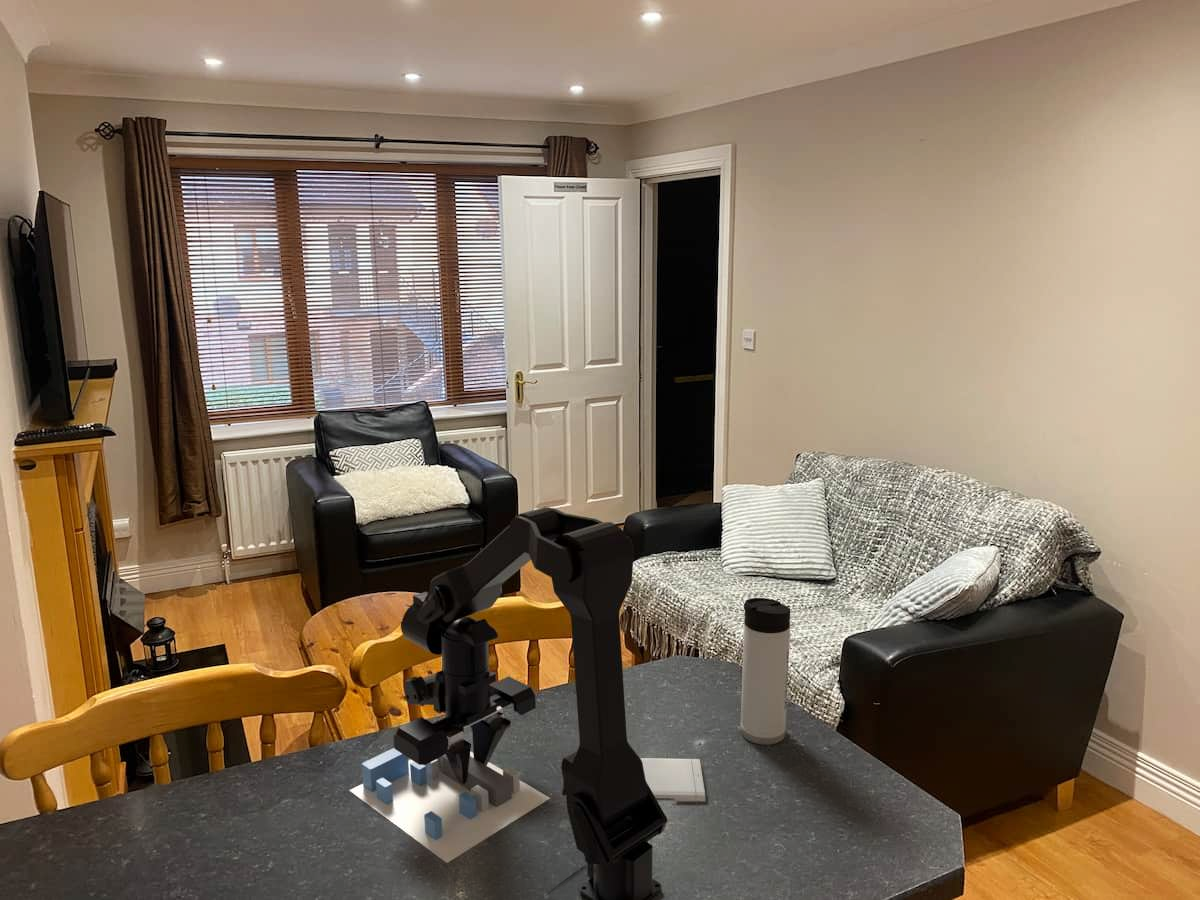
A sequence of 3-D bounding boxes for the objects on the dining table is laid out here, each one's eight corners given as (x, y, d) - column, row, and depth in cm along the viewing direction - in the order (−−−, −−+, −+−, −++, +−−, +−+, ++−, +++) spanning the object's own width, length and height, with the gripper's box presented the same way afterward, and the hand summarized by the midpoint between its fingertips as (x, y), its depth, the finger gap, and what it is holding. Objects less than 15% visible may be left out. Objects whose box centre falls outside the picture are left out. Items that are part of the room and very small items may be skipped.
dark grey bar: (511, 798, 109) (511, 780, 109) (496, 807, 108) (495, 789, 107) (447, 758, 118) (446, 741, 117) (432, 766, 116) (431, 749, 116)
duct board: (550, 800, 109) (549, 775, 109) (447, 865, 98) (445, 837, 97) (450, 742, 123) (449, 718, 122) (349, 793, 111) (347, 767, 110)
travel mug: (729, 728, 126) (733, 597, 121) (767, 718, 128) (773, 589, 124) (755, 750, 120) (760, 614, 116) (794, 739, 123) (800, 605, 118)
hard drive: (605, 793, 109) (705, 793, 109) (606, 756, 117) (699, 756, 117) (605, 805, 110) (705, 805, 109) (606, 767, 118) (699, 767, 117)
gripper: (482, 624, 121) (486, 726, 125) (364, 671, 108) (372, 784, 111) (537, 648, 114) (540, 756, 117) (418, 702, 100) (425, 822, 104)
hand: (470, 777), depth 113 cm, fingers closed on dark grey bar, 2 cm apart
